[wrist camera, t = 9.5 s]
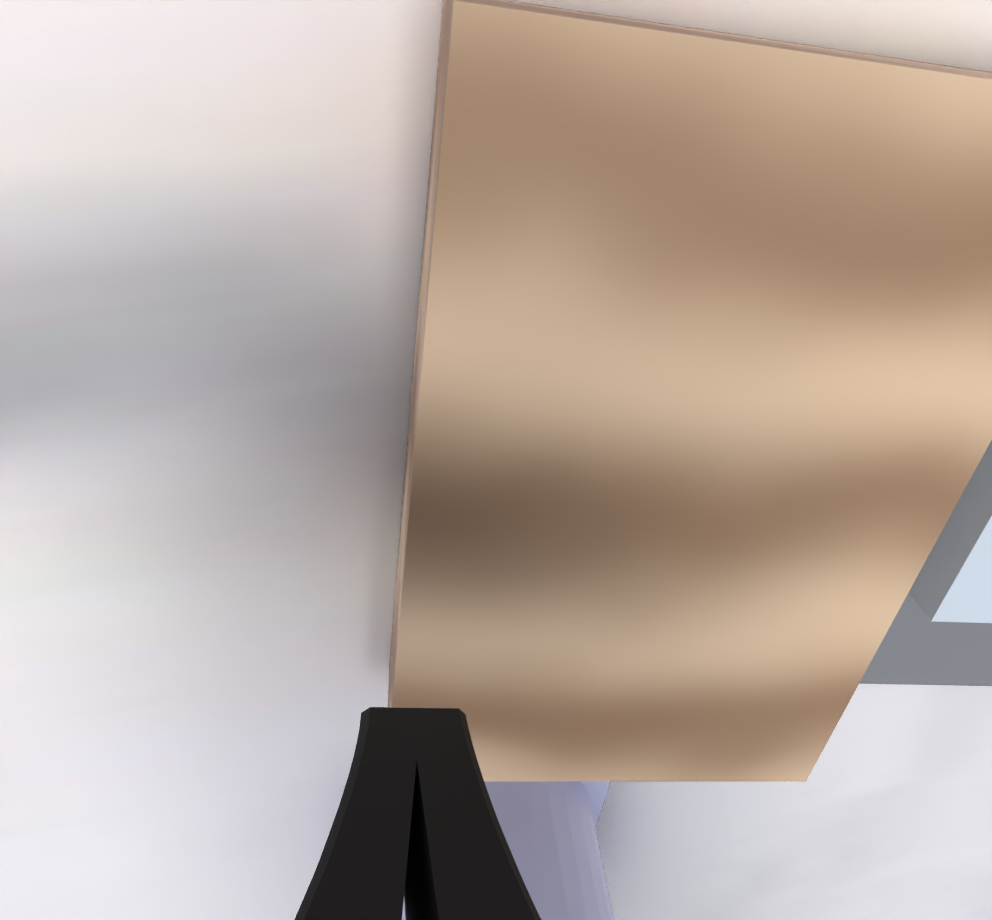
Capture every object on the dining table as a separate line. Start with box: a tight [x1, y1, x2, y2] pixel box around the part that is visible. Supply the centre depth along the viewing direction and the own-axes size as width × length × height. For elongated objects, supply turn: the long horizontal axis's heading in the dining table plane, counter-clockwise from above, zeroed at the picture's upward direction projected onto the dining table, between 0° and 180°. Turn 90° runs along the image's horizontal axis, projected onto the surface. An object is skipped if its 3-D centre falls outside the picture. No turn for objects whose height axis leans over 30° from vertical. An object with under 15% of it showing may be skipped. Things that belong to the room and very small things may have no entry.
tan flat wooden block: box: [388, 0, 992, 782], centre depth 18 cm, size 18×12×4 cm, turn 173°
